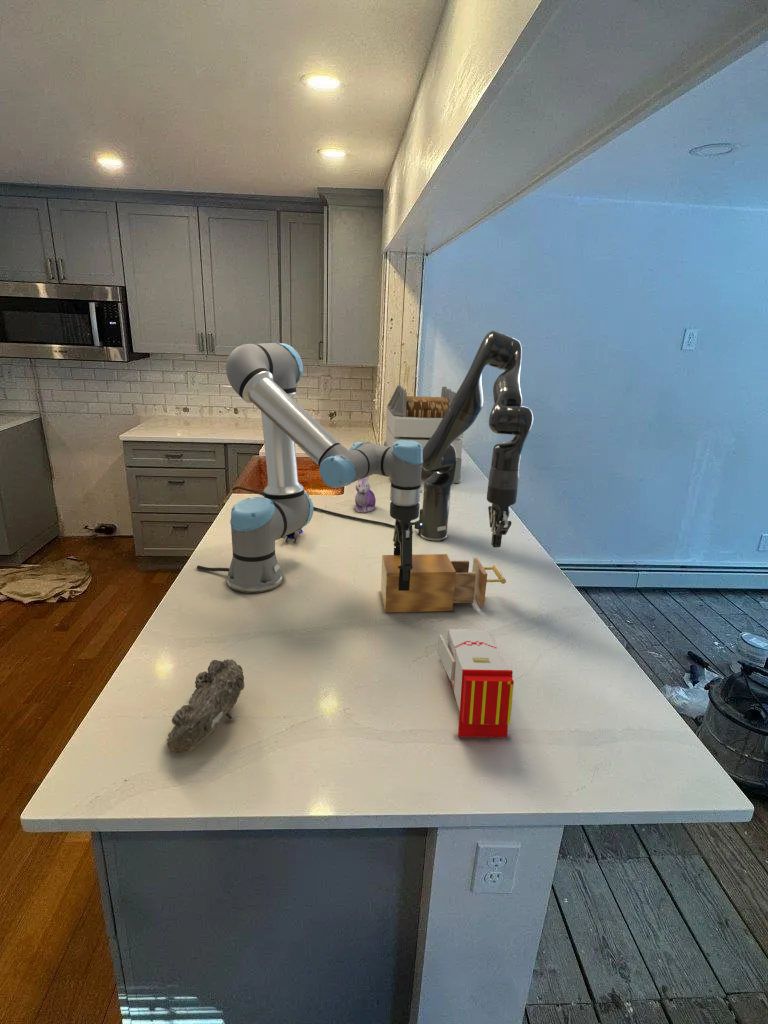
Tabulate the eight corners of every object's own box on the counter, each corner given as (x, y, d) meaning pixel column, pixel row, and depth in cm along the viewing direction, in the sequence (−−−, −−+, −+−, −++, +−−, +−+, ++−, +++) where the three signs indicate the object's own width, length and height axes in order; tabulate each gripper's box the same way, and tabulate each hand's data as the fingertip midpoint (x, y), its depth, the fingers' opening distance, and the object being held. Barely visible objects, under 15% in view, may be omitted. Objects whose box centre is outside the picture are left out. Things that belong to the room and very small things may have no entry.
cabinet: (444, 591, 160) (446, 554, 156) (452, 611, 150) (455, 571, 146) (380, 592, 158) (382, 554, 154) (385, 612, 148) (386, 573, 144)
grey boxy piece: (382, 463, 289) (386, 382, 275) (445, 464, 293) (451, 384, 279) (390, 482, 257) (394, 392, 243) (460, 483, 261) (468, 394, 247)
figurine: (359, 514, 216) (360, 476, 211) (348, 506, 225) (349, 469, 220) (381, 511, 220) (382, 474, 215) (369, 503, 229) (371, 467, 224)
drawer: (493, 587, 161) (497, 557, 158) (504, 605, 152) (508, 573, 148) (416, 589, 159) (418, 558, 155) (422, 607, 149) (424, 574, 146)
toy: (488, 613, 130) (523, 677, 101) (484, 667, 133) (517, 744, 104) (435, 612, 130) (455, 676, 101) (432, 666, 133) (451, 743, 103)
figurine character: (300, 549, 187) (305, 527, 200) (299, 528, 183) (305, 508, 197) (279, 548, 187) (286, 527, 200) (279, 528, 183) (285, 507, 197)
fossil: (192, 660, 117) (244, 628, 112) (224, 691, 120) (276, 661, 115) (142, 746, 98) (202, 712, 93) (182, 779, 101) (242, 748, 96)
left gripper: (427, 518, 133) (422, 600, 141) (412, 488, 155) (408, 560, 163) (396, 518, 132) (392, 601, 140) (385, 487, 155) (382, 560, 162)
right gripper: (526, 492, 139) (517, 556, 145) (509, 477, 152) (502, 536, 157) (496, 492, 138) (488, 556, 144) (482, 476, 151) (475, 536, 157)
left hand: (400, 579), depth 151 cm, fingers closed on cabinet, 11 cm apart
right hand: (495, 546), depth 151 cm, fingers closed
